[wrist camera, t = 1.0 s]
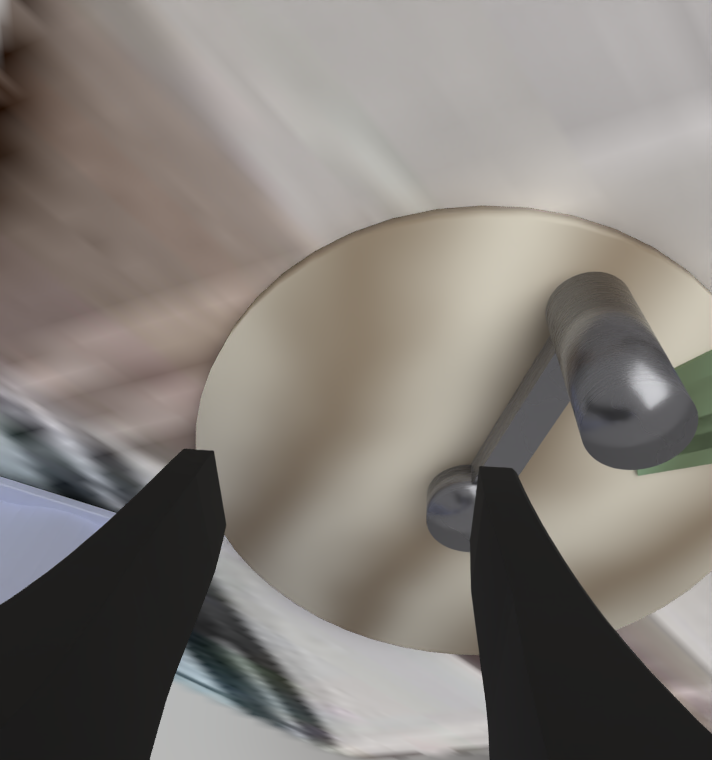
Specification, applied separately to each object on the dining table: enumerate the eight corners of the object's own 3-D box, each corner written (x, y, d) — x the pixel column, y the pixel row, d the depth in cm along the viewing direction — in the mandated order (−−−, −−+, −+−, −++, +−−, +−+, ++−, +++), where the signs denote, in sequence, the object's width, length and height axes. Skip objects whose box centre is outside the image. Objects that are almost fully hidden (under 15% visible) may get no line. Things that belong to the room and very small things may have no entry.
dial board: (162, 554, 29) (153, 574, 28) (285, 98, 18) (277, 107, 17) (571, 681, 31) (576, 703, 30) (908, 344, 20) (931, 364, 19)
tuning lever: (489, 536, 24) (502, 674, 20) (413, 511, 24) (409, 646, 19) (659, 293, 18) (735, 409, 14) (562, 255, 18) (606, 361, 13)
